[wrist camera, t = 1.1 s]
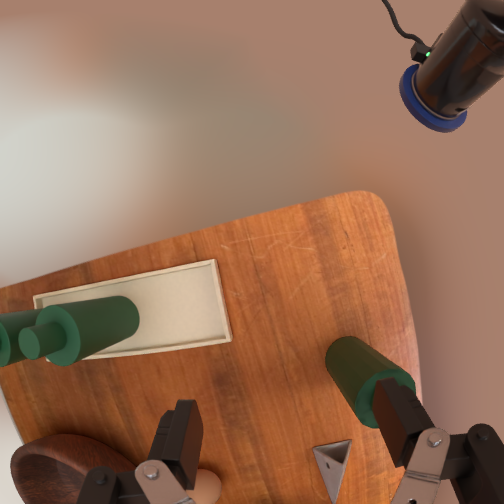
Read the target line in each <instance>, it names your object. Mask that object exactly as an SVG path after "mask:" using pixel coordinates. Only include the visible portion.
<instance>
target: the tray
mask: <svg viewBox="0 0 504 504" xmlns="http://www.w3.org/2000/svg"><path fill="white" fill-rule="evenodd" d="M111 296H124V297H127V298H128V299H130V300H131V301H132V302H133V303H134V304H135V306H136V307H137V309H138V312H139V316H140V323H139V327H138V329H137V331H136V333H135V334H134V335H133V336H131V337H129V338H127V339H125V340H123V341H121V342H119V343H116V344H114V345H112V346H110V347H108V348H106V349H103V350H101V351H99V352H97V353H95V354H93V355H90V356H88V357H86V358H84V359H97V358H109V357H120V356H130V355H139V354H148V353H157V352H165V351H172V350H180V349H187V348H194V347H200V346H207V345H213V344H219V343H226V342H231V340H232V338H233V336H232V332H231V327H230V322H229V318H228V313H227V308H226V303H225V298H224V294H223V289H222V284H221V279H220V274H219V269H218V263H217V260H216V259H211V260H206V261H201V262H196V263H191V264H186V265H181V266H176V267H172V268H167V269H162V270H157V271H152V272H147V273H142V274H137V275H132V276H128V277H123V278H118V279H113V280H108V281H103V282H98V283H93V284H89V285H84V286H79V287H74V288H69V289H64V290H59V291H55V292H50V293H45V294H40V295H35V296H33V301H34V306H35V309H40V308H45V307H46V306H49V305H56V304H63V303H70V302H77V301H84V300H91V299H98V298H104V297H111ZM84 359H82V360H84ZM46 360H47V362H48V361H49V360H48V359H47V358H46Z"/></svg>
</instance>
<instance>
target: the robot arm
mask: <svg viewBox="0 0 504 504" xmlns="http://www.w3.org/2000/svg"><path fill="white" fill-rule="evenodd" d="M382 2H383V3H384V4H385V6H386V7H387V9H388V11H389V14H390V17H391V19H392V22H393V25H394V27H395V29H396V30H397V31H398V33H399V34H400V35H401V36H403V37H404V38H408V39H413V40H414V41H416V42H415V44H414V45H413V47H412V48H411V58H412V60H414V61H417V62H419V63H420V64H419V65H418V67H417V70H416V71H415V73H414V74H413V75H412V78H411V89H412V92H413V95H414V97H415V98H416V100H417V102H418V103H419V104H420V105H421V107H422V108H423V109H424V110H426V111H427V112H428V113H429V114H431V115H432V116H434V117H436V118H438V119H440V120H444V121H452V120H454V119H456V118H457V117H459V116H460V115H461V113H463V112H464V111H466V110H468V109H470V107H469V106H471V105H472V104H473V103H474V102H475V101H476V100H478V99H479V98H480V97H481V96H482V95H483V94H484V93H486V92H487V91H488V90H489V89H490V88H491V87H493V86H494V85H495V84H496V83H497V82H498V81H499V80H501V78H503V77H504V0H466V1H465V2H464V4H463V5H462V7H461V8H460V10H459V11H458V13H457V14H456V16H455V17H454V19H453V20H452V22H451V23H450V25H449V26H448V27H447V29H446V30H445V32H444V33H441V34H440V35H439V36H438V38H437V39H436V41H435V42H434V44H433V45H432V47H428V46H426V45H425V44H424V43H423V41H422V40H421V39H420V38H418V37H417V36H415V35H413V34H407V33H405V32H404V31H403V30H402V29H401V28H400V26H399V24H398V22H397V19H396V16H395V13H394V11H393V9H392V7H391V6H390V4H389V2H388V1H387V0H382ZM468 107H469V108H468ZM467 108H468V109H467ZM373 414H374V417H375V419H376V422H377V424H378V426H379V429H380V431H381V434H382V436H383V438H384V441H385V443H386V446H387V448H388V450H389V453H390V455H391V458H392V460H393V463H394V465H395V468H397V467H400V466H404V468H405V470H406V471H405V473H404V475H403V477H402V480H401V482H400V484H399V486H398V488H397V491H396V493H395V495H394V497H393V499H392V501H391V503H390V504H433V502H434V499H435V497H436V494H437V491H438V488H439V485H440V481H441V480H445V479H450V481H451V484H452V486H453V488H454V491H455V493H456V496H457V498H458V501H459V504H504V444H503V443H502V441H501V440H500V438H499V436H498V435H497V433H496V432H495V430H494V429H493V428H492V427H491V426H489V425H487V424H476V425H474V426H472V427H471V428H470V429H469V431H468V433H466V434H458V435H457V434H456V435H449V434H448V433H447V432H446V431H444V430H443V429H440V428H436V427H435V426H434V424H433V423H432V421H431V419H430V417H429V416H428V414H427V412H426V411H425V409H424V408H423V406H422V405H421V403H420V401H419V400H418V398H417V396H416V395H415V393H414V391H413V390H411V389H410V388H408V387H407V386H406V385H402V386H399V385H398V383H397V381H396V380H395V378H394V377H389V378H385V379H380V380H377V381H376V386H375V393H374V399H373ZM202 439H203V423H202V419H201V416H200V413H199V409H198V406H197V402H196V400H178V401H177V404H176V408H175V410H168V411H167V412H166V413H165V414H164V415H163V416H162V417H161V419H160V422H159V425H158V428H157V431H156V435H155V437H154V440H153V443H152V447H151V450H150V453H149V456H148V459H147V461H145V462H143V463H141V464H140V465H139V466H138V467H137V468H136V470H133V471H127V472H119V473H115V472H114V471H113V470H112V469H111V468H110V467H107V466H97V467H94V468H92V469H91V470H90V471H89V472H88V473H87V475H86V477H85V480H84V482H83V485H82V488H81V490H80V493H79V496H78V499H77V502H76V504H196V502H195V501H194V500H193V499H192V498H190V497H189V496H188V494H187V493H186V490H194V487H195V481H196V475H197V469H198V463H199V457H200V451H201V445H202Z"/></svg>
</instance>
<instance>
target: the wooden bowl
mask: <svg viewBox="0 0 504 504" xmlns="http://www.w3.org/2000/svg"><path fill="white" fill-rule="evenodd" d="M97 466H107V467H110V468H111V469H112V470H113V471H114V472H115V473H119V472H127V471H133V470H136V468H137V467H136V466H135V465H133V464H132V463H131V462H130V461H129V460H128V459H127V458H125V457H124V456H123V455H121V454H120V453H118V452H117V451H116V450H114V449H112V448H111V447H109V446H107V445H105V444H103V443H101V442H99V441H97V440H94V439H92V438H88V437H85V436H80V435H74V434H56V435H50V436H46V437H43V438H40V439H37V440H34V441H32V442H29V443H27V444H25V445H23V446H21V447H19V448H18V449H17V450H16V451H15V452H14V454H13V456H12V458H11V464H10V468H11V474H12V478H13V481H14V484H15V487H16V489H17V491H18V493H19V495H20V497H21V498H22V500H23V501H24V503H25V504H76V502H77V499H78V496H79V493H80V490H81V488H82V485H83V482H84V480H85V477H86V475H87V473H88V472H89V471H90V470H91V469H92V468H94V467H97Z"/></svg>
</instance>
